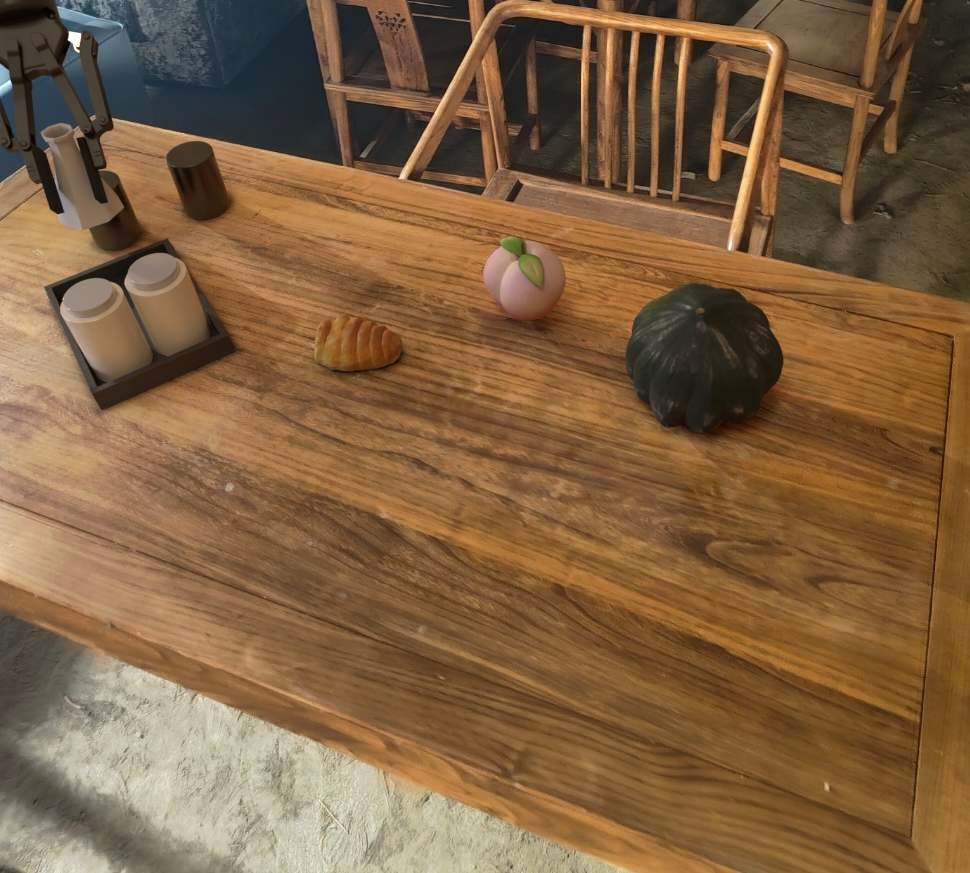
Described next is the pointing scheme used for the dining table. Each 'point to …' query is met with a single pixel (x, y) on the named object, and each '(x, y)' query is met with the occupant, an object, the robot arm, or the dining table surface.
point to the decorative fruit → (524, 278)
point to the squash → (702, 357)
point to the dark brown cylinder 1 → (117, 220)
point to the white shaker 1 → (105, 328)
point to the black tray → (161, 365)
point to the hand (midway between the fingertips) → (79, 205)
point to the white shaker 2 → (167, 303)
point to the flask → (77, 182)
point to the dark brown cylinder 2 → (198, 180)
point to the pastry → (355, 344)
